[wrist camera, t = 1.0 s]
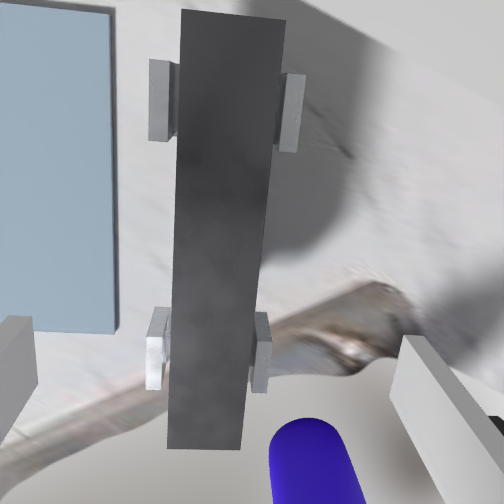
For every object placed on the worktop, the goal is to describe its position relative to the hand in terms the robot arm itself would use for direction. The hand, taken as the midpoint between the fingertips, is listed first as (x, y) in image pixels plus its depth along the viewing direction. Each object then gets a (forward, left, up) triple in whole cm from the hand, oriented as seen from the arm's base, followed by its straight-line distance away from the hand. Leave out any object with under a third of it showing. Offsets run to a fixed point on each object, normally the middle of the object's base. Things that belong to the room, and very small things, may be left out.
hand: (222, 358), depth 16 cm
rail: (0, 0, -14) cm, 14 cm away
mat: (-15, 0, -23) cm, 28 cm away
